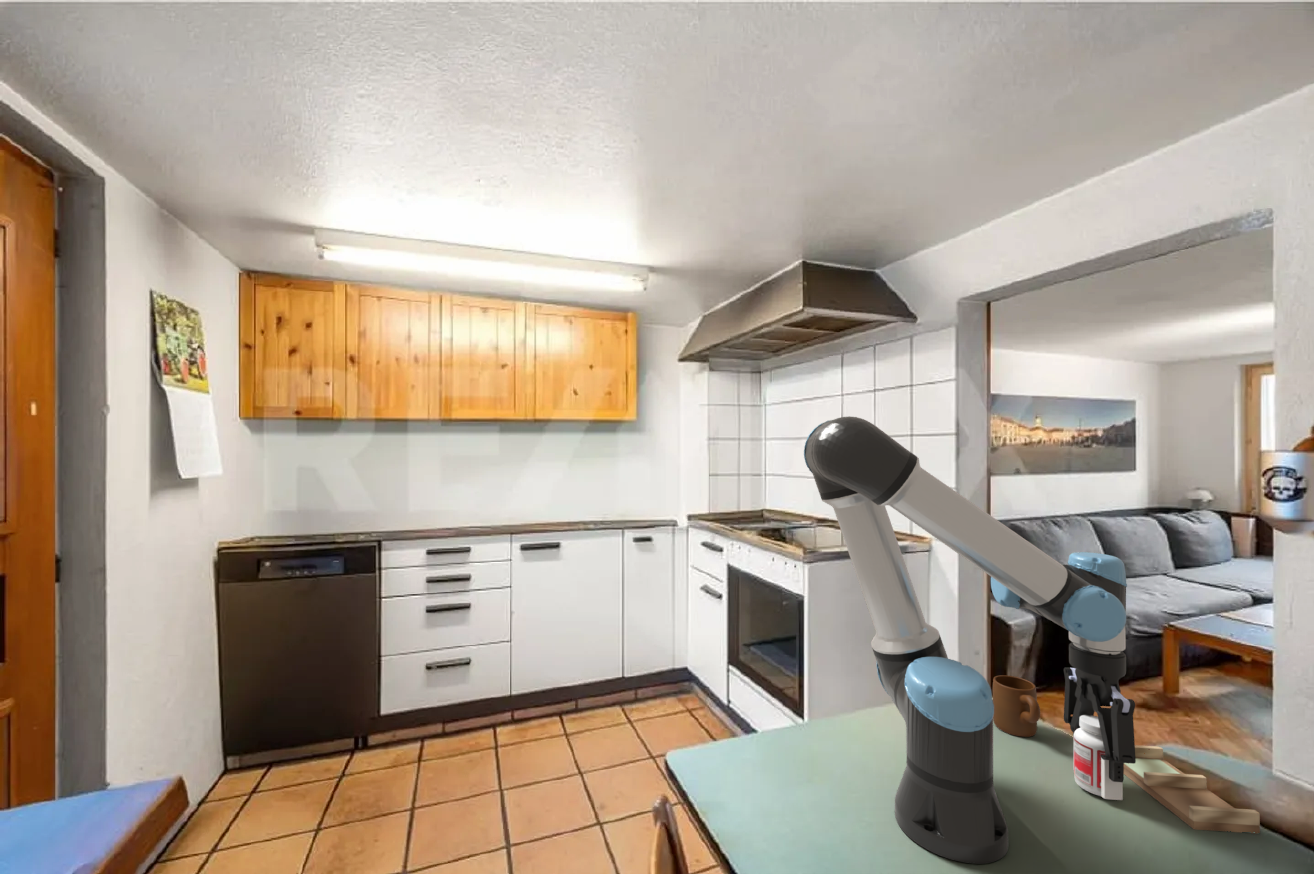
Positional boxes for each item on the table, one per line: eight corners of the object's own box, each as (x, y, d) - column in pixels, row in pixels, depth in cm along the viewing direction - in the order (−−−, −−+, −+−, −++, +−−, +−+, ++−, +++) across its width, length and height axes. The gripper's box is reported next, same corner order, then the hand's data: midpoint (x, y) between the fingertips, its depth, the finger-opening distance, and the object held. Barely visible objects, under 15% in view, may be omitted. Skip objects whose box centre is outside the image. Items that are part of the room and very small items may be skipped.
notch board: (1193, 829, 83) (1193, 809, 83) (1106, 760, 101) (1106, 743, 101) (1259, 833, 82) (1259, 813, 82) (1159, 763, 100) (1159, 746, 100)
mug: (1059, 751, 104) (1058, 701, 104) (1016, 749, 105) (1016, 699, 105) (1024, 720, 116) (1023, 675, 116) (986, 718, 117) (985, 673, 117)
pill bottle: (1123, 788, 92) (1123, 721, 92) (1118, 804, 88) (1118, 734, 88) (1077, 772, 96) (1077, 708, 97) (1070, 786, 92) (1070, 720, 92)
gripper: (1167, 670, 83) (1168, 826, 82) (1082, 629, 102) (1082, 754, 101) (1114, 667, 83) (1114, 821, 83) (1039, 627, 102) (1039, 752, 102)
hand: (1097, 784), depth 92 cm, fingers closed on pill bottle, 6 cm apart
